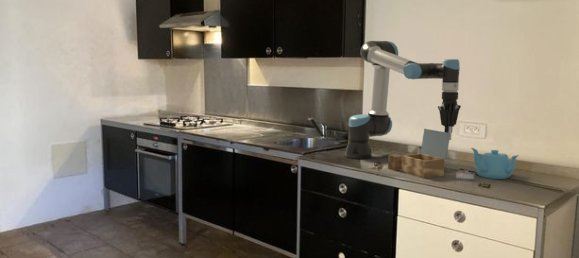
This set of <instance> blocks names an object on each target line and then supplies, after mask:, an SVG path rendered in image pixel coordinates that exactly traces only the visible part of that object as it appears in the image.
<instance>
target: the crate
mask: <svg viewBox="0 0 579 258" xmlns="http://www.w3.org/2000/svg"><path fill="white" fill-rule="evenodd" d="M401 156H402V168H401V170H400V171H401V173H404V174H406V175H407V174H408V175H412V176H415V177H418V178H422V179H430V178H431V179H432V178H437V177H443V176H445V160H446V159H442V158H438V157H434V156H429V155H425V154H418V153H413V154H411V153H410V154H404V155H401Z"/></svg>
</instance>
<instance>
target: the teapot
mask: <svg viewBox="0 0 579 258" xmlns="http://www.w3.org/2000/svg"><path fill="white" fill-rule="evenodd" d="M470 149H471V150H472V151H473V155H474V156H473V157H474V158H473V159H474V160H473V161H474V162H473V163H474V164H475V172H476V174H477V175H478V176H479V177H481V178H485V179H491V180H505V179H506V180H507V179H508V178H510V177H511V176H512V175H513V172H514V171H515V167H516V159H517V158H518V157H519V156H520V155H519V154H518V155H513V156H511V158H510V160H509V155H508V154H507V153H500V152H499V150H497V149H491V150H490V152H485V153H483V154H481V153H479V151H478V150H477V149H476V148H474V147H471V148H470Z"/></svg>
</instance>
